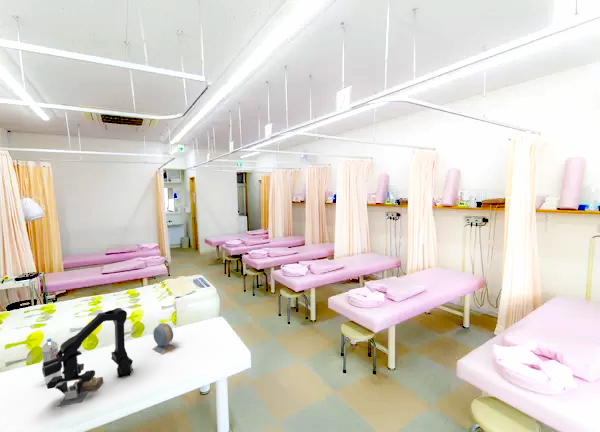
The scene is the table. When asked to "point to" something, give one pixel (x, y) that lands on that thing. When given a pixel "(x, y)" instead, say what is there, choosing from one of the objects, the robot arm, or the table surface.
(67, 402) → the mat
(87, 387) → the plane body
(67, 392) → the lever cap
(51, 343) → the water bottle
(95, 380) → the lever
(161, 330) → the alarm clock
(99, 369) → the table surface
